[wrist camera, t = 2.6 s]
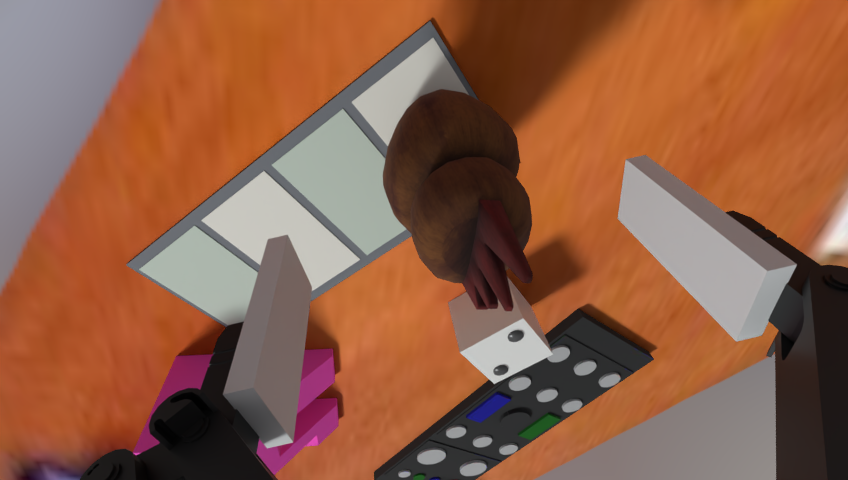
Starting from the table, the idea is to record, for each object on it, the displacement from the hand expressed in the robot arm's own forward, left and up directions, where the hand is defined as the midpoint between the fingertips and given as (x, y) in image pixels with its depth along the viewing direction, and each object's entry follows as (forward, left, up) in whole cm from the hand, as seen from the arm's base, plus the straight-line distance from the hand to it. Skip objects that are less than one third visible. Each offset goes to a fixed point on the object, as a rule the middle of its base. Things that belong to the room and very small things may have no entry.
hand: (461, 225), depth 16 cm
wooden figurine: (0, 0, -10) cm, 10 cm away
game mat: (+8, +4, -10) cm, 13 cm away
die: (-3, +15, -10) cm, 18 cm away
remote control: (-2, +32, -11) cm, 34 cm away
